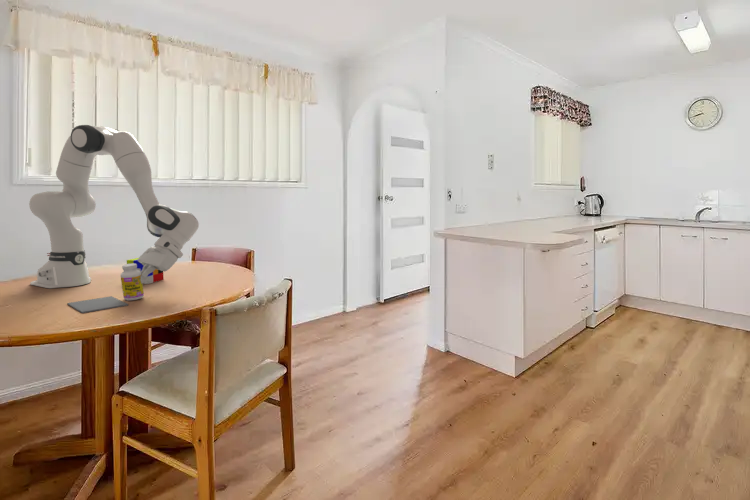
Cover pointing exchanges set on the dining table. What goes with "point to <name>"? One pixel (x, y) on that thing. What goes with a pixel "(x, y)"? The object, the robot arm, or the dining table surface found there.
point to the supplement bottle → (131, 282)
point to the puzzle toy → (152, 277)
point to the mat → (97, 304)
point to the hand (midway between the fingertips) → (142, 275)
